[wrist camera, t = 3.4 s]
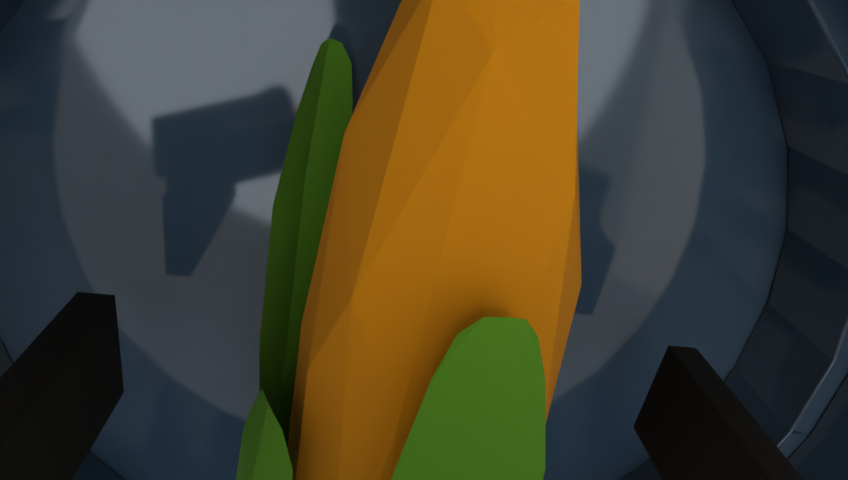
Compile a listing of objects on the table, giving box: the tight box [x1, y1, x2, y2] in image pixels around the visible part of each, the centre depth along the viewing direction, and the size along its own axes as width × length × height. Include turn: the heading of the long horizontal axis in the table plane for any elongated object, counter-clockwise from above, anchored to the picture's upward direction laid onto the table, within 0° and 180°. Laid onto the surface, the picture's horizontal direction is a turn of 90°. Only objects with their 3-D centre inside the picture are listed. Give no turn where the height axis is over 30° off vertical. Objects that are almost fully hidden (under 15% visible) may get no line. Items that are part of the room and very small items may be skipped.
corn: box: [236, 0, 582, 480], centre depth 12 cm, size 7×8×20 cm
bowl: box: [0, 0, 848, 480], centre depth 14 cm, size 24×24×6 cm
